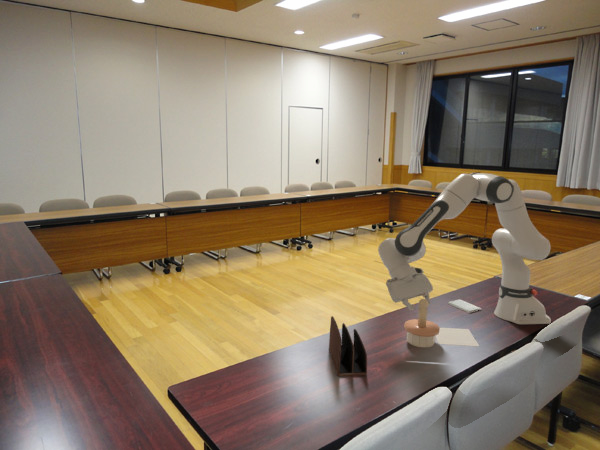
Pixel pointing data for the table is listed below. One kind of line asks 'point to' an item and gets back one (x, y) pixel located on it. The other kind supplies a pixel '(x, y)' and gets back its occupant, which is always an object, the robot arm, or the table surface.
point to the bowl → (420, 340)
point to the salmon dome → (422, 323)
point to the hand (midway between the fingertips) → (420, 307)
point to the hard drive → (464, 306)
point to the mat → (456, 337)
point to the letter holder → (347, 352)
